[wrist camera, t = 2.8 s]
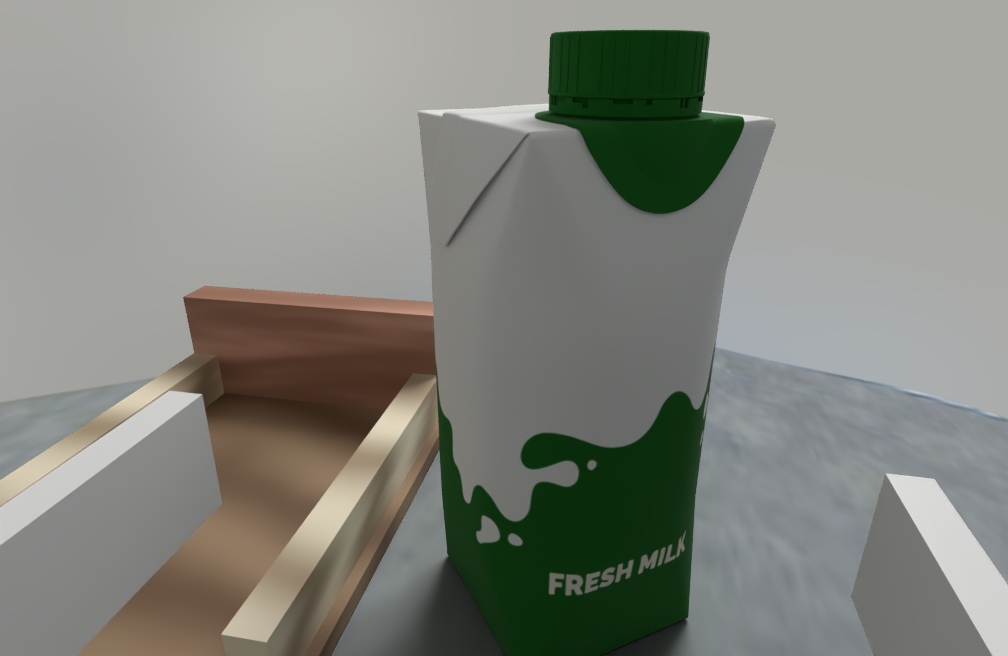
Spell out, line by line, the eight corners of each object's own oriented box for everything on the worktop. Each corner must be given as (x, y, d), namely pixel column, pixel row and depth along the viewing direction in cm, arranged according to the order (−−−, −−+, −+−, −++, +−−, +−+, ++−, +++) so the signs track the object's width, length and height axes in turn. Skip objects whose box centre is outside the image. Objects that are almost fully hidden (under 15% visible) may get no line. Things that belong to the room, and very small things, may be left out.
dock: (274, 760, 19) (239, 584, 17) (-153, 669, 22) (-239, 507, 20) (459, 411, 39) (455, 303, 36) (216, 386, 42) (197, 285, 39)
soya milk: (511, 725, 21) (515, 26, 13) (418, 546, 28) (386, 37, 20) (725, 628, 24) (828, 32, 16) (591, 492, 32) (619, 40, 24)
